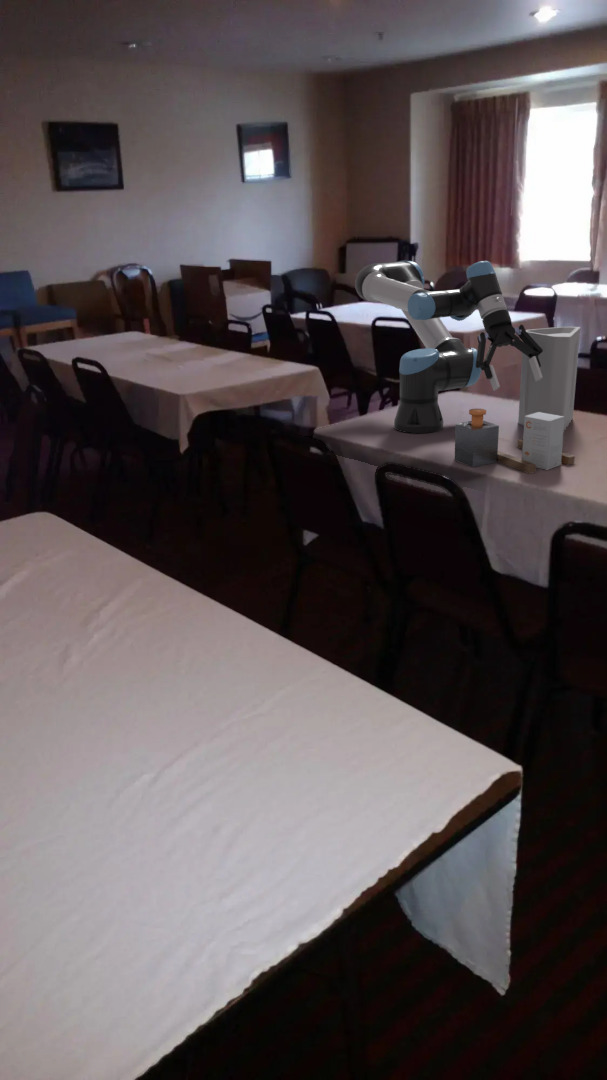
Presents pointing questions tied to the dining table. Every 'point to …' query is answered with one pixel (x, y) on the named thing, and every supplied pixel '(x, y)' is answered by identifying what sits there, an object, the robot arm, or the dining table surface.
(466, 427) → the grey block with hole
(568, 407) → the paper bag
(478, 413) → the orange piece
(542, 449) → the small box
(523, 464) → the track
